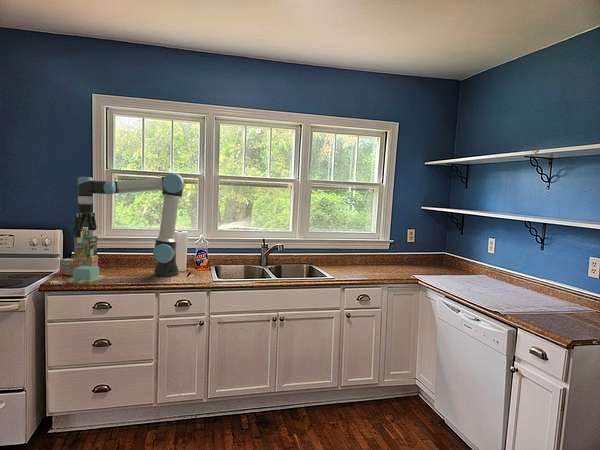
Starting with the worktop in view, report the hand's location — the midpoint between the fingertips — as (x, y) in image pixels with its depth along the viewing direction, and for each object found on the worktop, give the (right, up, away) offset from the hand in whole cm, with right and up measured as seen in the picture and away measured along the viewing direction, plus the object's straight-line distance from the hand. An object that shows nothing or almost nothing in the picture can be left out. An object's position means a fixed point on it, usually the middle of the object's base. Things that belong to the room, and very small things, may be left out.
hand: (85, 242), depth 234 cm
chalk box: (0, -8, +1) cm, 8 cm away
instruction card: (-13, -23, -7) cm, 27 cm away
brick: (0, -21, +2) cm, 21 cm away
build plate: (-1, -23, +2) cm, 23 cm away
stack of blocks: (-14, -21, +18) cm, 31 cm away
